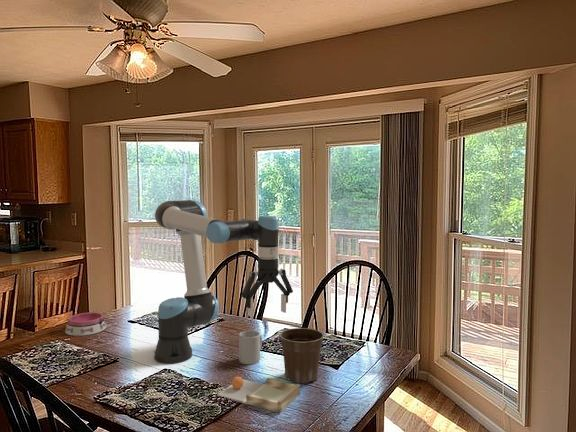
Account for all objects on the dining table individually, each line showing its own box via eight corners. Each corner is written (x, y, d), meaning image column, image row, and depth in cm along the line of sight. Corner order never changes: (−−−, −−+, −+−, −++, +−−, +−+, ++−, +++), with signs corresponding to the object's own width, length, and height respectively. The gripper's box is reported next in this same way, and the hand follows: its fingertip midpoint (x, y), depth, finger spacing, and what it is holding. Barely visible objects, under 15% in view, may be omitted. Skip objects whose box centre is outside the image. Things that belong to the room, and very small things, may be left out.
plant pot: (280, 367, 174) (280, 326, 173) (322, 368, 173) (322, 327, 172) (278, 386, 158) (278, 341, 157) (324, 387, 157) (324, 342, 156)
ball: (229, 389, 154) (229, 378, 153) (235, 384, 157) (235, 373, 157) (239, 391, 152) (239, 380, 151) (245, 387, 155) (245, 376, 155)
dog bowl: (96, 337, 208) (96, 322, 207) (57, 336, 208) (56, 322, 207) (112, 324, 226) (112, 311, 226) (76, 324, 226) (76, 311, 226)
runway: (217, 396, 150) (217, 394, 150) (240, 380, 162) (240, 378, 162) (280, 413, 139) (280, 411, 139) (299, 394, 151) (299, 392, 151)
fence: (246, 403, 145) (246, 393, 144) (267, 386, 157) (267, 377, 157) (280, 413, 139) (280, 402, 139) (299, 394, 151) (299, 384, 151)
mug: (251, 366, 175) (251, 338, 174) (234, 361, 179) (234, 334, 179) (269, 356, 185) (269, 330, 184) (252, 352, 189) (252, 327, 189)
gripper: (240, 261, 156) (239, 321, 157) (302, 257, 168) (301, 312, 169) (232, 258, 162) (232, 315, 164) (292, 254, 174) (291, 307, 176)
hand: (267, 314), depth 167 cm, fingers open, 13 cm apart
